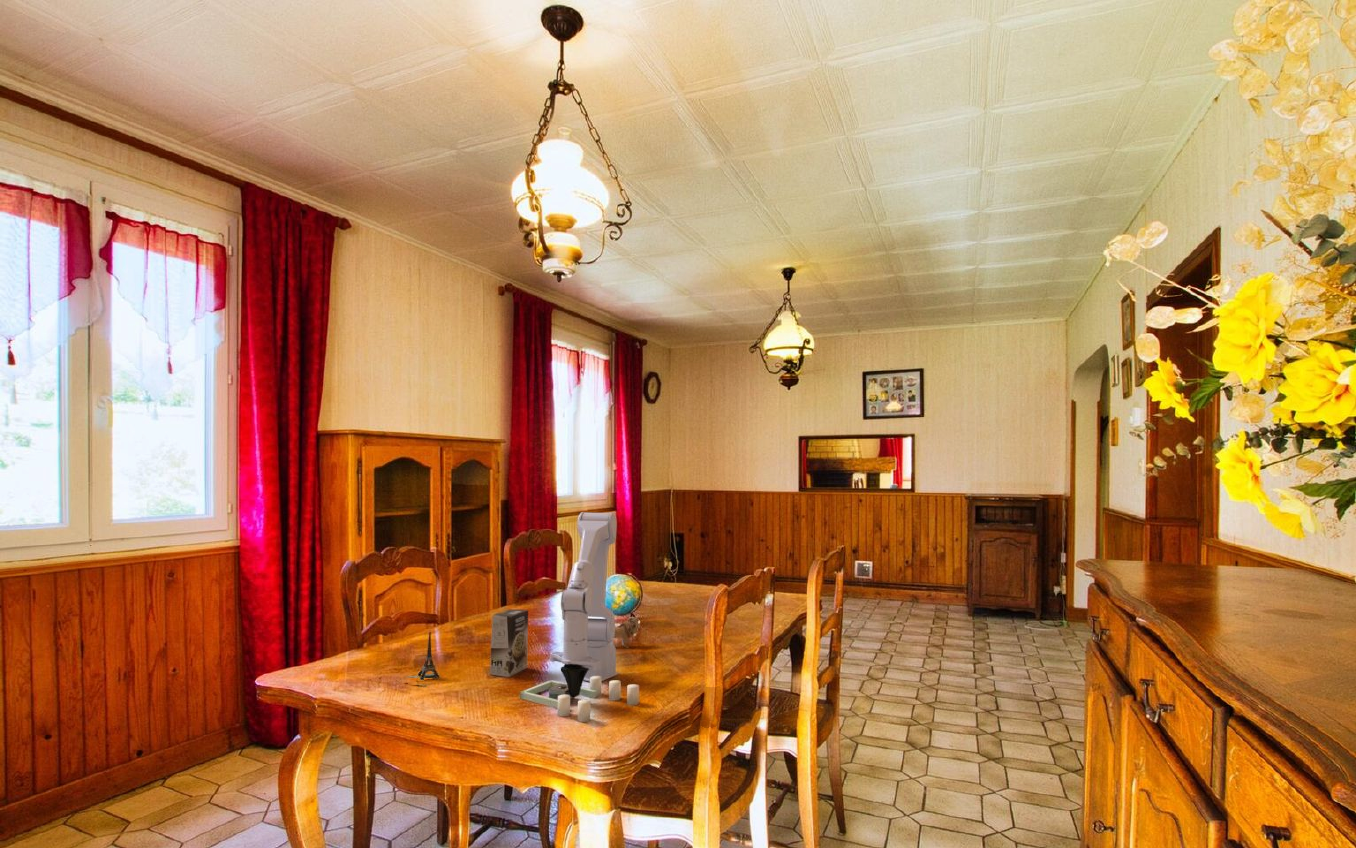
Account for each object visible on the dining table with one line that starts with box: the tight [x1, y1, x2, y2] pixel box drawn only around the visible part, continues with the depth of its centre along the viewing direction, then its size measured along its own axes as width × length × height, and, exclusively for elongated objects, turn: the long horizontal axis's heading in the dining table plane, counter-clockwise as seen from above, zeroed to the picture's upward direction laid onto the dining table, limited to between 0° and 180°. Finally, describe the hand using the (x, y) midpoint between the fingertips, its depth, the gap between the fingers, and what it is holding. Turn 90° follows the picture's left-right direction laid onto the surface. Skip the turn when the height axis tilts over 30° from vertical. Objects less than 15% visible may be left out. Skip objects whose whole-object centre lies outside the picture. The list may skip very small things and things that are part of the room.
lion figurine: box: [614, 616, 640, 649], centre depth 207 cm, size 15×5×9 cm, turn 105°
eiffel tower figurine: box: [404, 631, 441, 687], centre depth 177 cm, size 15×10×13 cm
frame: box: [519, 679, 598, 709], centre depth 161 cm, size 11×15×2 cm
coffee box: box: [489, 608, 529, 678], centre depth 182 cm, size 9×6×16 cm
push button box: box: [548, 683, 576, 702], centre depth 159 cm, size 4×4×3 cm
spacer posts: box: [557, 676, 640, 723], centre depth 154 cm, size 17×14×4 cm
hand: (574, 696), depth 158 cm, fingers closed
